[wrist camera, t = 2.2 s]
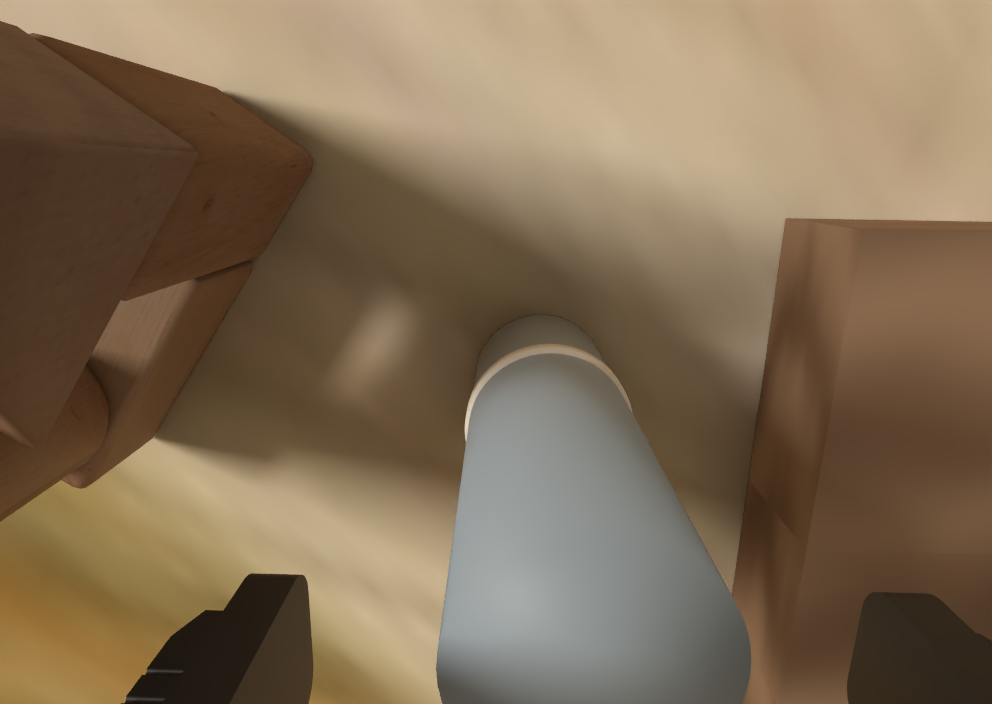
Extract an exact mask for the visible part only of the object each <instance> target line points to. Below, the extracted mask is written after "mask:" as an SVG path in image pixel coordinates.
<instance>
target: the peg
mask: <svg viewBox="0 0 992 704" xmlns="http://www.w3.org/2000/svg"><path fill="white" fill-rule="evenodd" d="M465 440H466V448H465V455H464V462H463V469H462V477H461V484H460V491H459V499H458V506H457V513H456V521H455V528H454V535H453V543H452V550H451V557H450V564H449V572H448V579H447V586H446V594H445V601H444V608H443V616H442V623H441V630H440V637H439V645H438V652H437V667H436V671H437V682H438V688H439V692H440V696H441V700H442V703H443V704H742V702H743V699H744V697H745V694H746V691H747V687H748V683H749V679H750V672H751V660H752V658H751V646H750V639H749V635H748V631H747V627H746V624H745V622H744V620H743V617H742V615H741V613H740V610H739V608H738V606H737V605H736V603H735V601H734V599H733V597H732V595H731V594H730V592H729V590H728V588H727V586H726V584H725V582H724V581H723V579H722V577H721V575H720V573H719V571H718V570H717V568H716V566H715V564H714V562H713V560H712V559H711V557H710V555H709V553H708V551H707V549H706V548H705V546H704V544H703V542H702V540H701V538H700V537H699V535H698V533H697V531H696V529H695V527H694V526H693V524H692V522H691V520H690V518H689V516H688V515H687V513H686V511H685V509H684V507H683V505H682V504H681V502H680V500H679V498H678V496H677V494H676V493H675V491H674V489H673V487H672V485H671V483H670V481H669V480H668V478H667V476H666V474H665V472H664V470H663V469H662V467H661V465H660V463H659V461H658V459H657V458H656V456H655V454H654V452H653V450H652V448H651V447H650V445H649V443H648V441H647V439H646V437H645V436H644V434H643V432H642V430H641V428H640V426H639V425H638V423H637V421H636V419H635V417H634V415H633V411H632V408H631V404H630V401H629V399H628V397H627V394H626V392H625V390H624V388H623V387H622V385H621V383H620V382H619V380H618V379H617V377H616V376H615V374H614V373H613V372H612V371H611V370H610V369H609V368H608V367H607V366H606V364H605V362H604V360H603V358H602V357H601V355H600V353H599V351H598V349H597V347H596V346H595V344H594V343H593V341H592V340H591V338H590V337H589V336H588V335H587V334H586V333H585V332H584V331H583V330H582V329H581V328H579V327H578V326H576V325H575V324H573V323H571V322H570V321H568V320H565V319H562V318H560V317H556V316H551V315H530V316H525V317H521V318H518V319H516V320H513V321H511V322H509V323H507V324H506V325H504V326H502V327H501V328H500V329H499V330H497V331H496V332H495V333H494V334H493V335H492V336H491V337H490V338H489V340H488V341H487V343H486V344H485V345H484V347H483V349H482V351H481V353H480V356H479V359H478V363H477V367H476V374H475V382H474V389H473V391H472V394H471V396H470V399H469V402H468V407H467V411H466V418H465Z"/></svg>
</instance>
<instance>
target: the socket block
mask: <svg viewBox="0 0 992 704" xmlns="http://www.w3.org/2000/svg"><path fill="white" fill-rule="evenodd" d="M872 592H895V593H929V594H932V595H934V596H936V597H938V598H939V599H940V600H941V601H943V602H944V603H945V604H946V605H947V606H948V607H949V608H950V609H951V610H952V611H953V612H954V613H955V614H956V615H957V616H958V617H959V618H960V619H961V620H963V621H964V622H965V623H966V624H967V625H968V626H969V627H970V628H971V629H972V630H973V631H974V632H975V633H980V634H981V635H983V636H984V637H986V638H988V639H989V640H991V641H992V222H959V221H901V220H844V219H786V221H785V228H784V235H783V242H782V249H781V256H780V263H779V270H778V277H777V284H776V291H775V298H774V305H773V312H772V319H771V326H770V333H769V340H768V347H767V354H766V361H765V368H764V375H763V382H762V389H761V396H760V403H759V410H758V417H757V424H756V431H755V438H754V445H753V452H752V459H751V466H750V473H749V480H748V487H747V494H746V501H745V508H744V515H743V522H742V529H741V536H740V543H739V550H738V557H737V564H736V571H735V578H734V585H733V592H732V597H733V599H734V601H735V603H736V605H737V606H738V608H739V610H740V613H741V615H742V617H743V620H744V622H745V624H746V627H747V631H748V635H749V639H750V646H751V658H752V660H751V672H750V679H749V683H748V687H747V691H746V694H745V697H744V699H743V702H742V704H849V703H848V697H847V680H848V674H849V669H850V664H851V659H852V654H853V650H854V645H855V640H856V635H857V630H858V625H859V620H860V615H861V610H862V606H863V602H864V600H865V598H866V597H867V596H868V595H869V594H870V593H872Z"/></svg>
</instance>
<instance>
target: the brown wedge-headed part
mask: <svg viewBox="0 0 992 704" xmlns="http://www.w3.org/2000/svg"><path fill="white" fill-rule="evenodd" d="M312 163H313V159H312V158H311V156H310V155H309V154H308V152H307V151H306V150H304V149H303V148H302V147H300V146H299V145H297V144H296V143H294V142H293V141H292V140H290V139H289V138H287V137H286V136H284V135H283V134H282V133H280V132H279V131H277V130H276V129H274V128H273V127H271V126H270V125H269V124H267V123H266V122H264V121H263V120H261V119H260V118H259V117H257V116H256V115H254V114H253V113H251V112H250V111H249V110H247V109H246V108H244V107H243V106H241V105H240V104H239V103H237V102H236V101H234V100H233V99H231V98H230V97H229V96H227V95H226V94H224V93H223V92H221V91H220V90H219V89H217V88H215V87H212V86H208V85H205V84H202V83H198V82H195V81H192V80H189V79H185V78H182V77H179V76H176V75H172V74H169V73H166V72H162V71H159V70H156V69H153V68H149V67H146V66H143V65H140V64H136V63H133V62H130V61H126V60H123V59H120V58H117V57H113V56H110V55H107V54H104V53H100V52H97V51H94V50H90V49H87V48H84V47H81V46H77V45H74V44H71V43H68V42H64V41H61V40H58V39H54V38H51V37H47V36H43V35H39V34H35V33H32V34H27V33H26V32H24V31H23V30H21V29H20V28H18V27H17V26H14V25H11V24H8V23H4V22H1V21H0V521H2V520H3V519H5V518H6V517H8V516H9V515H11V514H12V513H14V512H15V511H16V510H18V509H19V508H21V507H22V506H24V505H25V504H27V503H28V502H30V501H31V500H32V499H34V498H35V497H37V496H38V495H40V494H41V493H43V492H44V491H45V490H47V489H48V488H50V487H51V486H53V485H54V484H56V483H57V482H59V481H60V480H62V481H64V482H66V483H67V484H69V485H71V486H73V487H76V488H81V489H82V488H85V487H87V486H89V485H90V484H92V483H93V482H95V481H96V480H97V479H99V478H100V477H101V476H103V475H104V474H105V473H107V472H108V471H109V470H111V469H112V468H113V467H115V466H116V465H117V464H119V463H120V462H121V461H123V460H124V459H125V458H127V457H128V456H129V455H131V454H132V453H133V452H135V451H136V450H137V449H139V448H140V447H141V446H143V445H144V444H145V443H147V442H148V441H149V440H151V439H152V438H153V436H154V434H155V433H156V431H157V429H158V428H159V426H160V424H161V423H162V421H163V419H164V417H165V416H166V414H167V412H168V411H169V409H170V407H171V406H172V404H173V402H174V401H175V399H176V397H177V396H178V394H179V392H180V390H181V389H182V387H183V385H184V384H185V382H186V380H187V379H188V377H189V375H190V374H191V372H192V370H193V369H194V367H195V365H196V363H197V362H198V360H199V358H200V357H201V355H202V353H203V352H204V350H205V348H206V347H207V345H208V343H209V342H210V340H211V338H212V336H213V335H214V333H215V331H216V330H217V328H218V326H219V325H220V323H221V321H222V320H223V318H224V316H225V315H226V313H227V311H228V309H229V308H230V306H231V304H232V303H233V301H234V299H235V298H236V296H237V294H238V293H239V291H240V289H241V288H242V286H243V284H244V282H245V281H246V279H247V277H248V276H249V274H250V272H251V267H252V263H251V261H250V260H251V259H254V258H256V257H257V256H259V255H260V254H262V253H263V251H264V249H265V247H266V246H267V244H268V242H269V241H270V239H271V237H272V236H273V234H274V232H275V231H276V229H277V227H278V226H279V224H280V222H281V220H282V219H283V217H284V215H285V214H286V212H287V210H288V209H289V207H290V205H291V204H292V202H293V200H294V199H295V197H296V195H297V193H298V192H299V190H300V188H301V187H302V185H303V183H304V182H305V180H306V178H307V177H308V175H309V173H310V172H311V170H312Z"/></svg>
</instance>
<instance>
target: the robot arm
mask: <svg viewBox="0 0 992 704" xmlns="http://www.w3.org/2000/svg"><path fill="white" fill-rule="evenodd" d="M312 679H313V653H312V638H311V623H310V609H309V594H308V584H307V580H306V578H305V576H304V575H288V574H249V575H248V576H247V577H246V578H245V579H244V581H243V582H242V584H241V585H240V587H239V588H238V590H237V591H236V593H235V594H234V596H233V597H232V599H231V600H230V602H229V603H228V605H227V606H226V608H225V609H224V611H214V610H205V611H204V612H203V613H201V614H200V615H199V616H197V617H196V618H195V619H193V620H192V621H191V622H189V623H188V624H187V625H185V626H184V627H183V628H181V629H180V630H179V631H177V632H176V633H175V634H173V635H172V636H171V637H170V638H169V640H168V641H167V642H166V644H165V645H164V646H163V648H162V649H161V650H160V652H159V653H158V654H157V656H156V657H155V658H154V660H153V661H152V662H151V664H150V665H149V666H148V668H147V673H146V675H142V676H141V677H140V679H139V680H138V681H137V683H136V684H135V685H134V687H133V688H132V689H131V691H130V692H129V693H128V695H127V698H126V701H125V703H121V704H308V703H309V699H310V693H311V687H312ZM847 697H848V703H849V704H992V641H991V640H989V639H988V638H986V637H984V636H983V635H981V634H980V633H975V632H974V631H973V630H972V629H971V628H970V627H969V626H968V625H967V624H966V623H965V622H964V621H963V620H961V619H960V618H959V617H958V616H957V615H956V614H955V613H954V612H953V611H952V610H951V609H950V608H949V607H948V606H947V605H946V604H945V603H944V602H943V601H941V600H940V599H939V598H938V597H936V596H934V595H932V594H929V593H895V592H872V593H870V594H869V595H868V596H867V597H866V598H865V600H864V602H863V606H862V610H861V615H860V620H859V625H858V630H857V635H856V640H855V645H854V650H853V654H852V659H851V664H850V669H849V674H848V680H847Z"/></svg>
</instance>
